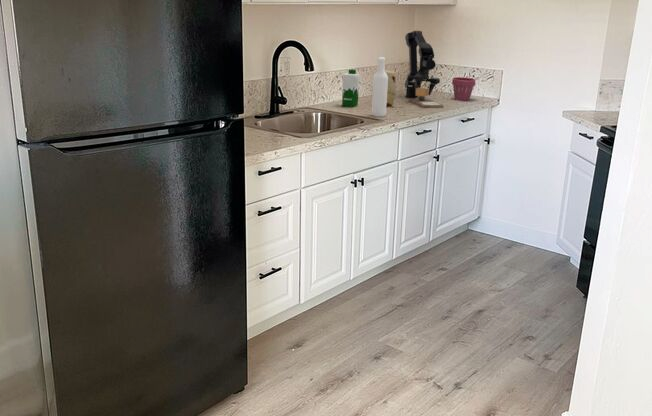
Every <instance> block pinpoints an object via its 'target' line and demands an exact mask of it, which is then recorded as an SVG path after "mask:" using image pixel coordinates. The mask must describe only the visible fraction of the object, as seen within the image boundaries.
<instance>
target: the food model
mask: <svg viewBox="0 0 652 416" xmlns="http://www.w3.org/2000/svg"><path fill="white" fill-rule="evenodd" d="M384 72H385V73H386V74H387V76H388V88H387V105H386V107H391V106H393V105H394V102H395V98H396V97H395V96H396V83H397V81H396V77H397V76H396V72H395V71H392V70H385V71H384Z"/></svg>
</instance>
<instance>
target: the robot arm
mask: <svg viewBox="0 0 652 416" xmlns="http://www.w3.org/2000/svg"><path fill="white" fill-rule="evenodd" d="M404 39H405V43H406V46H407V47H408V51H409V52H408V54H409V55H408V56H409V57H408V58H409V59H408V60H409V63H408V64H409V72H408V74H407V76H406V80H405V82H404V88H406V91H405V92H406V93H405V96H404V98H408V99H410V98H419V96H416V89H417V88H421V86H422V82H428V83H429V84H428V85H429V87H428V88H429V95H428V96H431V94H432V92H433V89H435V87H436V85H438V84H440V78H439V77H431V78H430V76H429V75H430V71H431V70H434V69H435V67H436V61H435V60H433V59H435V52H434V49H433V47H432V45H431V44H430V43H427V42H426V41H427V40H426V39H425V37H424V35H423V31H422V30H413V31H410V32H407V34H405V37H404ZM418 55H419V68H418Z"/></svg>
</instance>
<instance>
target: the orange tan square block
mask: <svg viewBox="0 0 652 416" xmlns="http://www.w3.org/2000/svg"><path fill="white" fill-rule="evenodd" d="M429 88H430V87H427V88H426V87H420V88H417V89H416V96H418V97H419V96H425V97H429V96H430V95H429Z"/></svg>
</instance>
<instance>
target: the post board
mask: <svg viewBox="0 0 652 416" xmlns="http://www.w3.org/2000/svg"><path fill="white" fill-rule="evenodd" d="M408 102H410V103H412V104H414V105H416V106H418V107H420V108H423V109H443V108H444V105H443V104H441V103H439V102H437V101H434V100H432V99H430V98H427V97H426V96H418V97H417V98H408Z"/></svg>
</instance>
